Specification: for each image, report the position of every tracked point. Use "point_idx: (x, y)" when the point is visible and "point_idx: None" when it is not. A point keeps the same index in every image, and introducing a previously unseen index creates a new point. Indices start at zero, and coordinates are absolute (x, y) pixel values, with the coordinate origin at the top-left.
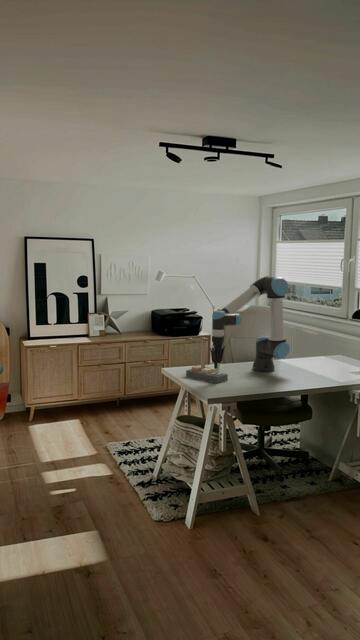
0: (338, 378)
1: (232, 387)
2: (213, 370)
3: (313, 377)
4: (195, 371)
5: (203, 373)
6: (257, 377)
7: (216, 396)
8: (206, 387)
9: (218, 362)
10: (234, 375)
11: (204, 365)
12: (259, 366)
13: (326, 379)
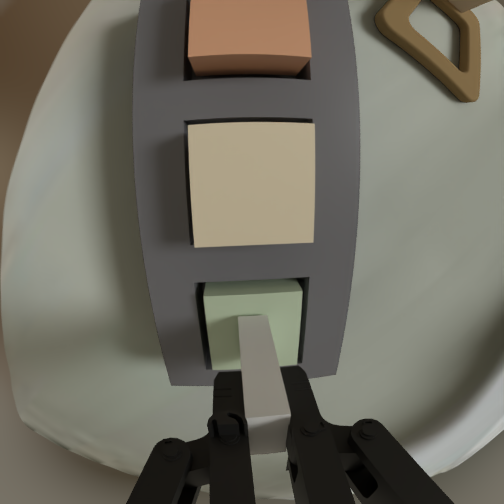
0: (490, 434)
1: (193, 436)
2: (463, 93)
3: (492, 417)
4: (168, 60)
5: (159, 203)
6: (463, 366)
7: (48, 433)
8: (60, 355)
9: (287, 447)
10: (463, 270)
11: (468, 4)
12: None
13: (479, 437)
